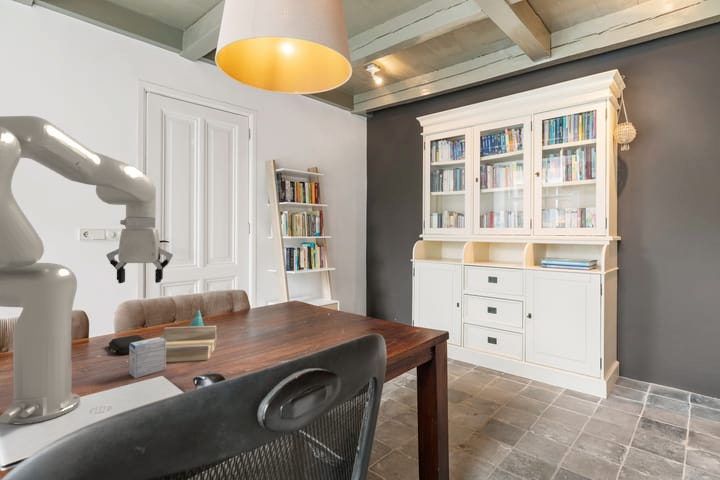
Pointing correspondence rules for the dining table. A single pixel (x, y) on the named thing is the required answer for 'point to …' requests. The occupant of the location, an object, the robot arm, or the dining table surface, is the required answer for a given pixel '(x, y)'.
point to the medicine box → (147, 357)
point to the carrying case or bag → (123, 344)
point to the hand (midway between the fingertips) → (140, 282)
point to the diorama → (196, 321)
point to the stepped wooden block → (189, 343)
